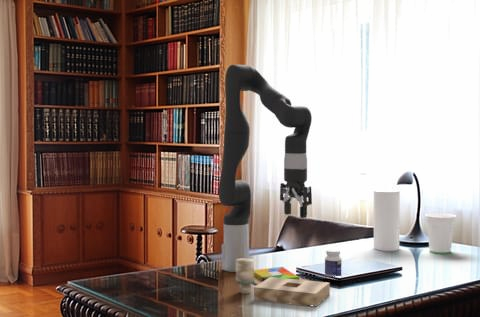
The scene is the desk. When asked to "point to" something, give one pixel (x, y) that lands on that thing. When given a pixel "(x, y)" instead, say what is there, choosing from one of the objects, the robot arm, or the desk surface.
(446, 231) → the cup
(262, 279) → the wooden puzzle
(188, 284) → the desk surface
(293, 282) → the oak board
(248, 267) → the maple peg
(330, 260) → the pill bottle
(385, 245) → the tall pillar cylinder
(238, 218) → the robot arm
